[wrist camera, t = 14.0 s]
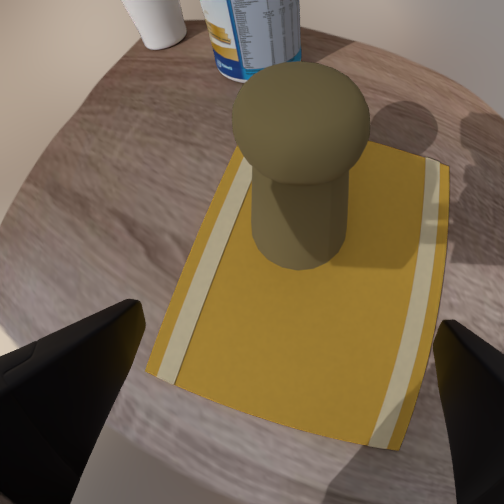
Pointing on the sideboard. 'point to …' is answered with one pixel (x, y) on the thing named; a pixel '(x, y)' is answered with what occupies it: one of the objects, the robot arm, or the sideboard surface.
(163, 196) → the sideboard surface
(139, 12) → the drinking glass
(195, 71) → the sideboard surface
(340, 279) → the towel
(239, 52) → the blue plastic jar
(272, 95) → the cork
